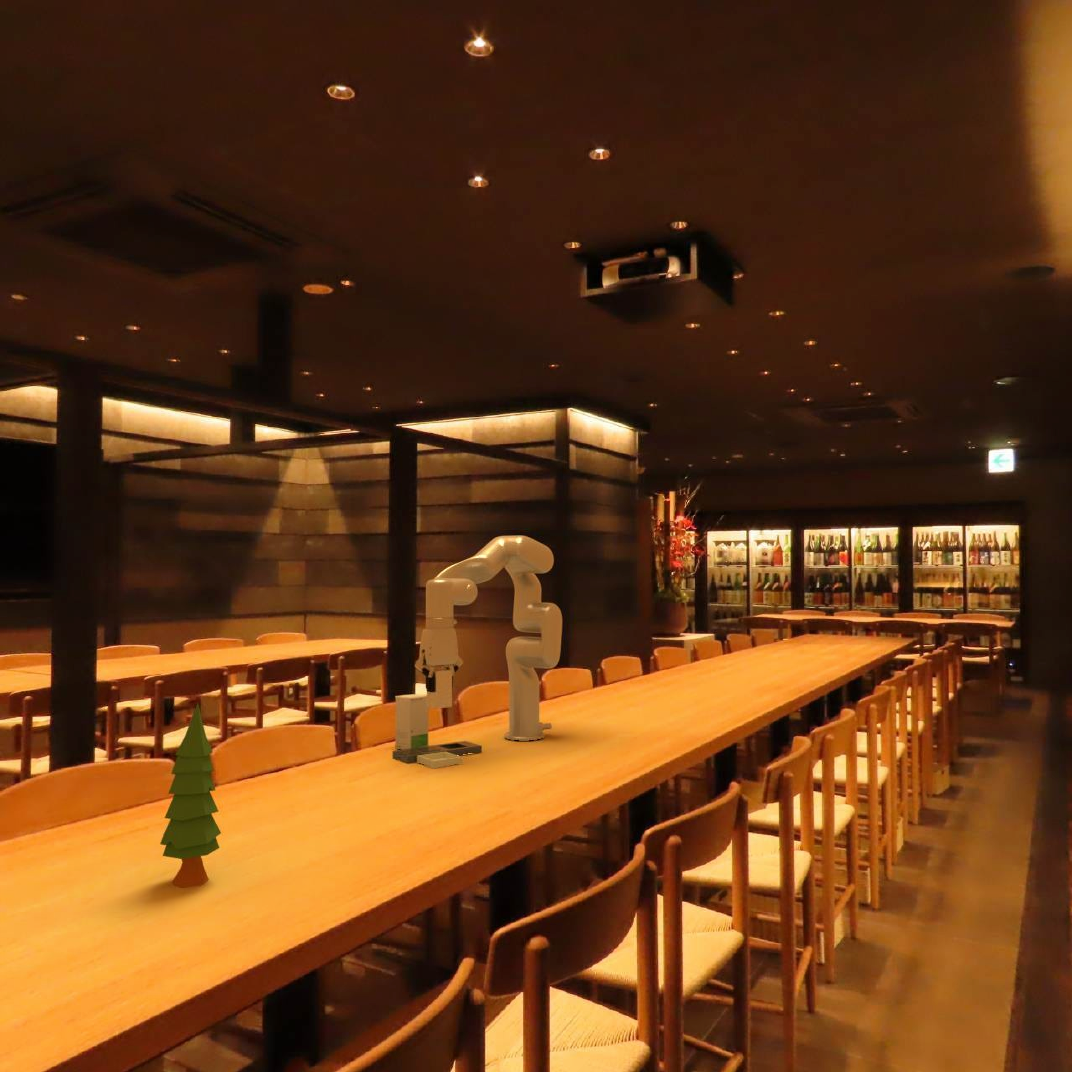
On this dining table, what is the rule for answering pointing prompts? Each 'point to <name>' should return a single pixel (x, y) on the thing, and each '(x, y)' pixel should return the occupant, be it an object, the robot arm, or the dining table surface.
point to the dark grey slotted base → (436, 750)
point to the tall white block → (441, 689)
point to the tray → (439, 759)
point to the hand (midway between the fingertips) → (439, 690)
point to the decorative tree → (192, 807)
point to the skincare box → (411, 721)
